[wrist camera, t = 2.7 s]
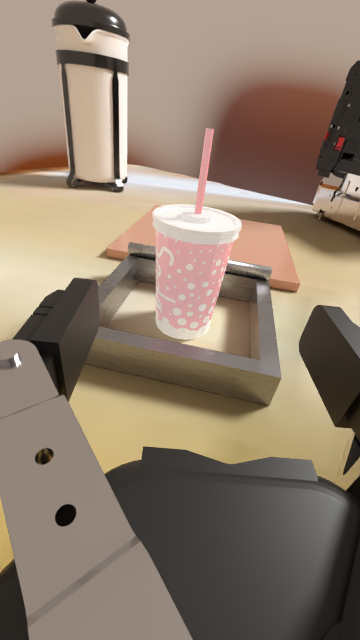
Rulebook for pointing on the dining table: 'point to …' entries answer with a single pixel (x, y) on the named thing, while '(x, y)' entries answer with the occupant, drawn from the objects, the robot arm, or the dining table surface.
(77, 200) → the dining table surface
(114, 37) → the coffee press
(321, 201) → the bill acceptor
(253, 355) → the square metal frame
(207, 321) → the beverage cup
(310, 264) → the dining table surface
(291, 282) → the terracotta tile
